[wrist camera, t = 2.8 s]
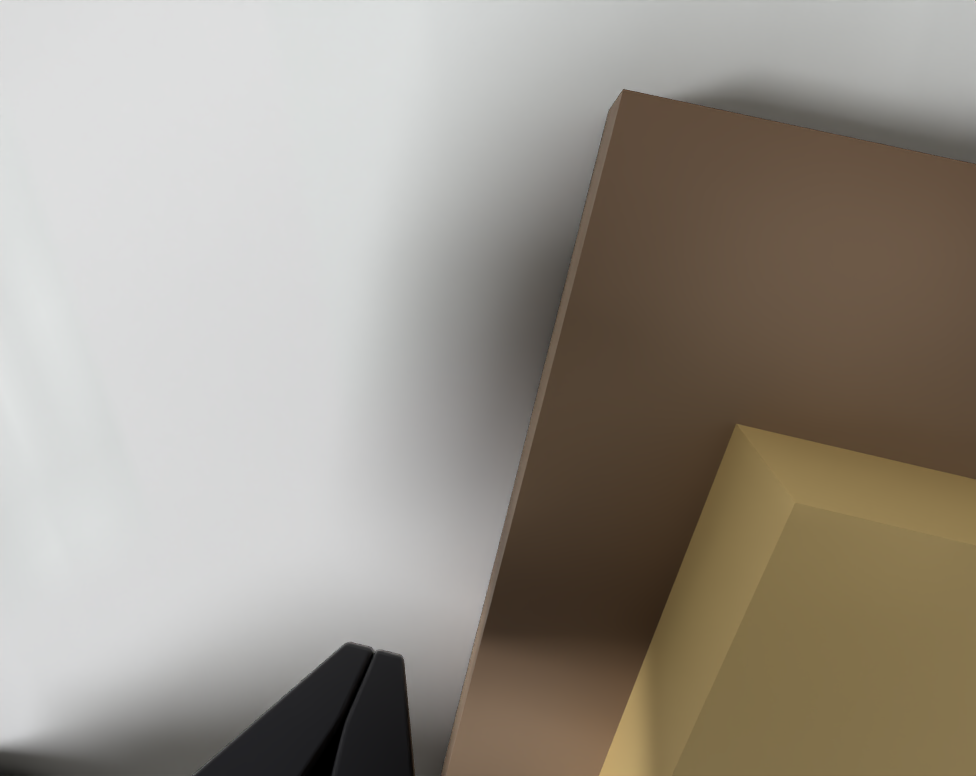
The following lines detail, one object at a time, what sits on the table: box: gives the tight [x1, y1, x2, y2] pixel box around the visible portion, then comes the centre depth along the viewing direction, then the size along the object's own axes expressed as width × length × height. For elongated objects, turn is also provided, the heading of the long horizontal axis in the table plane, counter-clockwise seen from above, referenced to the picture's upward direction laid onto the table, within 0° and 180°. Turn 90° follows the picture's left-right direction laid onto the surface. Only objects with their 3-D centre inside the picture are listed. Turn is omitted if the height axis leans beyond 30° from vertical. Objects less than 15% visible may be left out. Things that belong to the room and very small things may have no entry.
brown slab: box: [441, 89, 976, 776], centre depth 10 cm, size 16×12×2 cm
